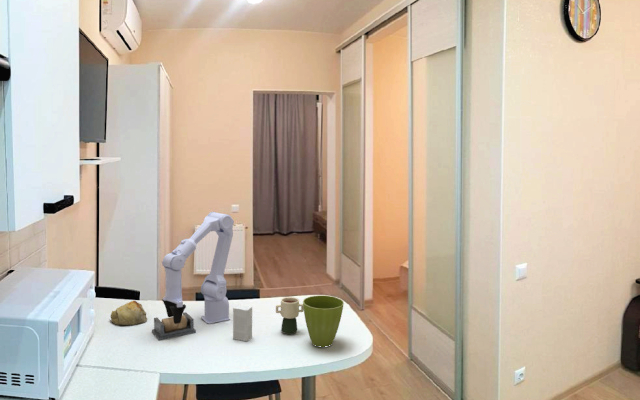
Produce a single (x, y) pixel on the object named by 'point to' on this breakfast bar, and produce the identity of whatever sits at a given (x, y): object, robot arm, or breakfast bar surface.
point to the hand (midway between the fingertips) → (174, 319)
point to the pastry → (129, 314)
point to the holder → (160, 334)
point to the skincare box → (242, 322)
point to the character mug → (289, 314)
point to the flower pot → (322, 318)
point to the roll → (171, 326)
